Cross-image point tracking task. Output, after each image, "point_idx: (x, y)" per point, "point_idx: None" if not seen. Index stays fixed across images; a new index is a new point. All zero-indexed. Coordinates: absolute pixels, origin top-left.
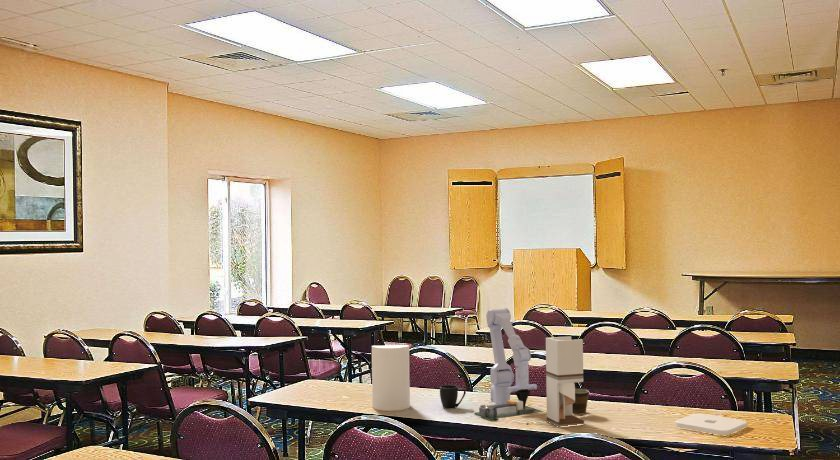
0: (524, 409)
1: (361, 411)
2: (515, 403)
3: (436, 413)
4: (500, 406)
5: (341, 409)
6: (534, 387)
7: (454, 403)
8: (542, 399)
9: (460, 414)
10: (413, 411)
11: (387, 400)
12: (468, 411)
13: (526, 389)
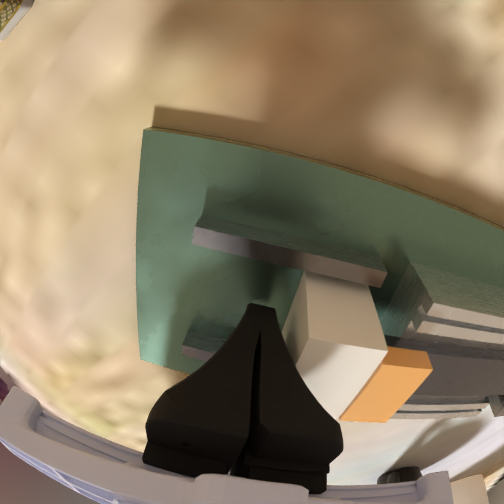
0: (320, 256)
1: (497, 475)
2: (393, 351)
3: (489, 441)
4: (490, 365)
5: (488, 485)
6: (31, 422)
7: (407, 481)
8: (10, 352)
9: (487, 414)
10: (478, 464)
11: (486, 493)
12: (430, 434)
13: (175, 468)
